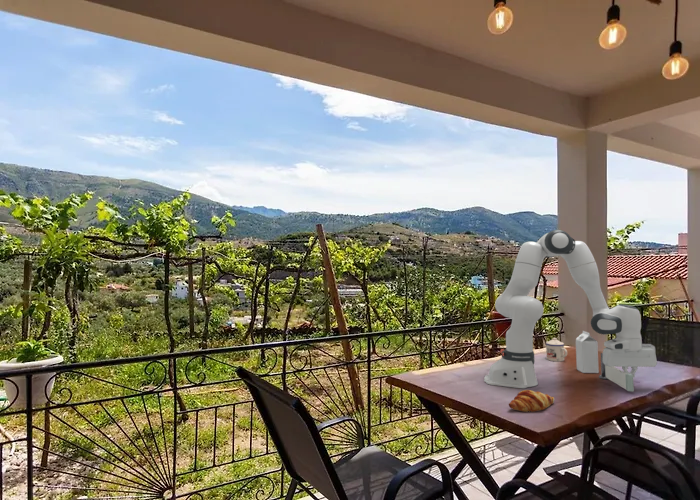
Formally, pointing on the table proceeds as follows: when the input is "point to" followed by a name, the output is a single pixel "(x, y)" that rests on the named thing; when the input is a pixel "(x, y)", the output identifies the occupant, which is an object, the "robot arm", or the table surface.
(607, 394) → the table surface
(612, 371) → the gate
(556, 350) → the teacup with lid
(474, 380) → the table surface
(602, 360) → the hinge post
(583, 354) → the milk carton
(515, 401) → the croissant
